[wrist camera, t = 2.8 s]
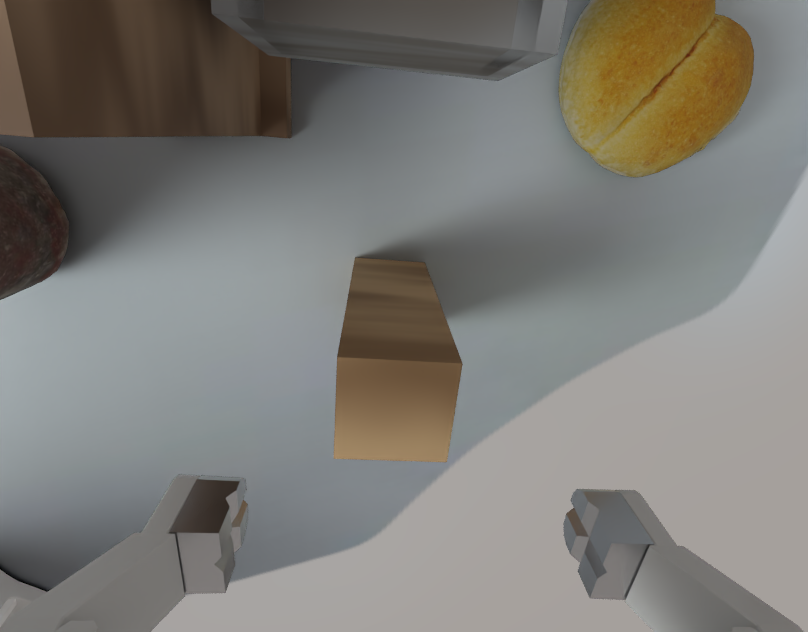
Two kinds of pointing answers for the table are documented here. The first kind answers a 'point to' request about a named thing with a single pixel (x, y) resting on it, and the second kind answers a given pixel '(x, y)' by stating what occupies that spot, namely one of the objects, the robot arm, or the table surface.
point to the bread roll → (652, 81)
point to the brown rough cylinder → (28, 226)
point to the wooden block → (395, 367)
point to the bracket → (236, 57)
